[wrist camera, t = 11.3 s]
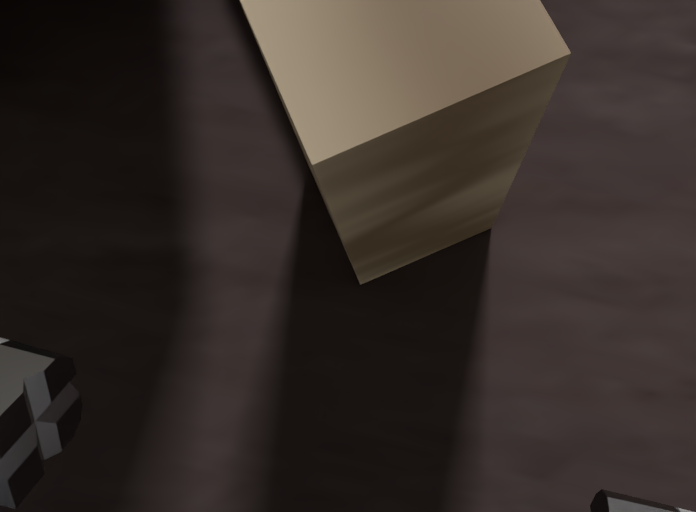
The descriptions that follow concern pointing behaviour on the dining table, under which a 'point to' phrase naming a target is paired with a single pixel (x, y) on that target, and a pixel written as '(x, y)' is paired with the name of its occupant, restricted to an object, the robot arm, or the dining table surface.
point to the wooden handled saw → (410, 111)
